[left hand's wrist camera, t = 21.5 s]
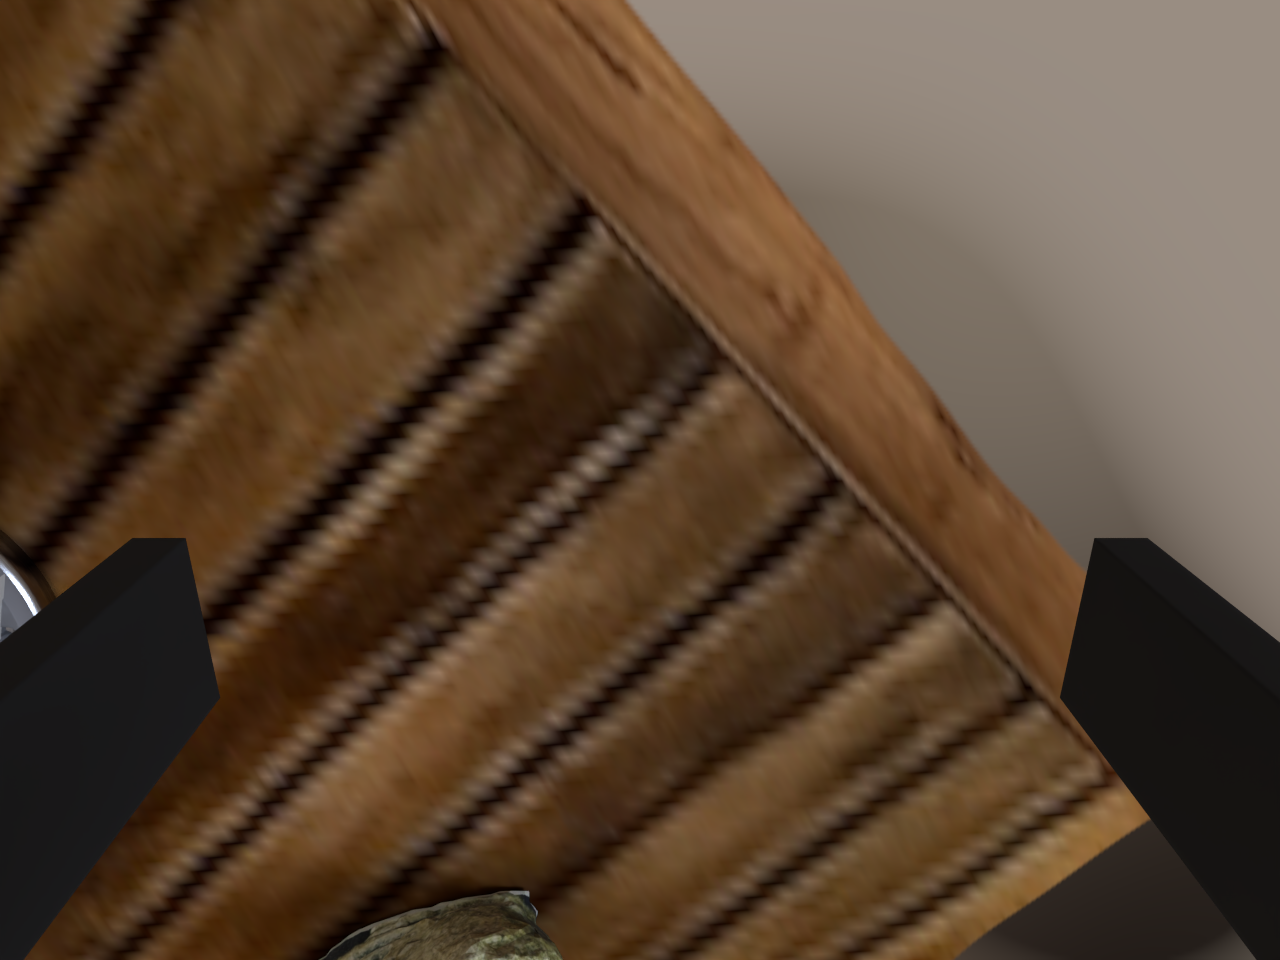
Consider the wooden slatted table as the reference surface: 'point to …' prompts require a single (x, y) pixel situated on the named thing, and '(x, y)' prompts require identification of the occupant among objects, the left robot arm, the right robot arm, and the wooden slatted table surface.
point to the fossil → (455, 933)
